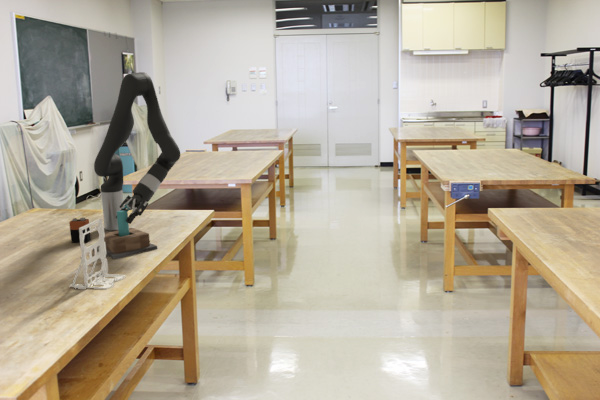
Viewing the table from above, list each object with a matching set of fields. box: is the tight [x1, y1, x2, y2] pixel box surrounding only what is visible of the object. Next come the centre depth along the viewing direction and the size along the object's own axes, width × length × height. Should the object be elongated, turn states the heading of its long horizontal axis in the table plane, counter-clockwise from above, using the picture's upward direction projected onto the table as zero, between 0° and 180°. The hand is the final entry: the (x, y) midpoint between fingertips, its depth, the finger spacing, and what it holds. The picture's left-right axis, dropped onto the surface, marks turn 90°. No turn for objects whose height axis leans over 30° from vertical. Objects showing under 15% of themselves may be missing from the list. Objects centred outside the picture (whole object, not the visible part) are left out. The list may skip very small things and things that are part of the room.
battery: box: [69, 217, 92, 244], centre depth 242 cm, size 4×7×10 cm, turn 90°
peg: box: [117, 210, 130, 237], centre depth 229 cm, size 4×4×14 cm
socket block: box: [92, 227, 158, 260], centre depth 229 cm, size 18×18×6 cm
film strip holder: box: [69, 218, 126, 290], centre depth 191 cm, size 14×14×20 cm
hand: (122, 220), depth 228 cm, fingers open, 8 cm apart
